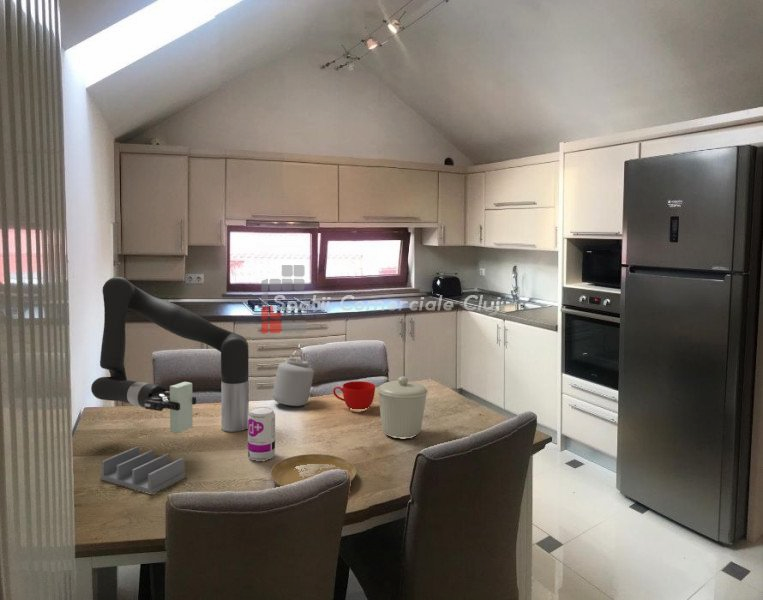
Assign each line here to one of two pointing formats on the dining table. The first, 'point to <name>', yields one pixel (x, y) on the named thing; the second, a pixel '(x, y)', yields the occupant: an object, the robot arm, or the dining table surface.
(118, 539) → the dining table surface
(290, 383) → the jar
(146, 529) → the dining table surface
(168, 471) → the dish rack
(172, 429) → the green slab
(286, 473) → the plant saucer
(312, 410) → the dining table surface
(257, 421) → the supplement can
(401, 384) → the canister
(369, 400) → the ceramic cup
